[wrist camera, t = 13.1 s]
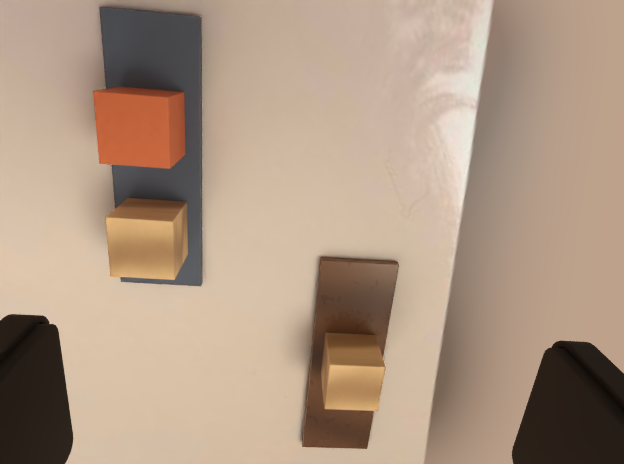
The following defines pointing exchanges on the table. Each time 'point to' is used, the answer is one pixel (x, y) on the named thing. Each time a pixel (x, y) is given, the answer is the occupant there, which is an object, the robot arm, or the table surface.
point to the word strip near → (172, 77)
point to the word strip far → (350, 320)
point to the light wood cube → (352, 372)
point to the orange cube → (140, 126)
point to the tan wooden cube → (147, 238)
